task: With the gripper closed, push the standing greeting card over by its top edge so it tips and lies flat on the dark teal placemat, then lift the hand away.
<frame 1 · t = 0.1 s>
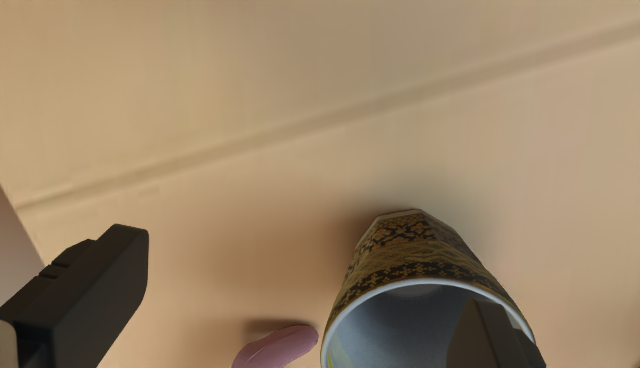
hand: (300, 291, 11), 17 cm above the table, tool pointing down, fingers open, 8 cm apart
ceramic cup: (425, 261, 31), on the table
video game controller: (283, 366, 36), on the table
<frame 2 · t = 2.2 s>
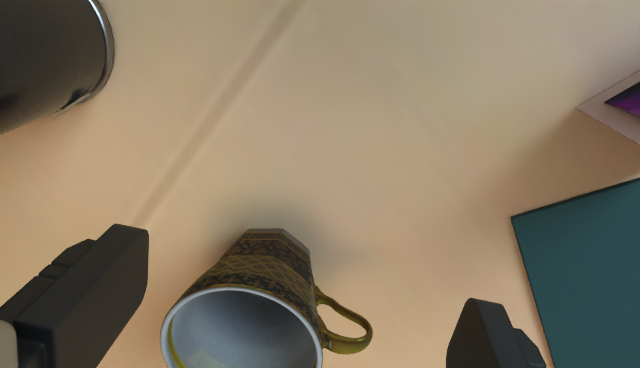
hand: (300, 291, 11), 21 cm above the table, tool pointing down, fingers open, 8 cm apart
ceramic cup: (289, 260, 37), on the table
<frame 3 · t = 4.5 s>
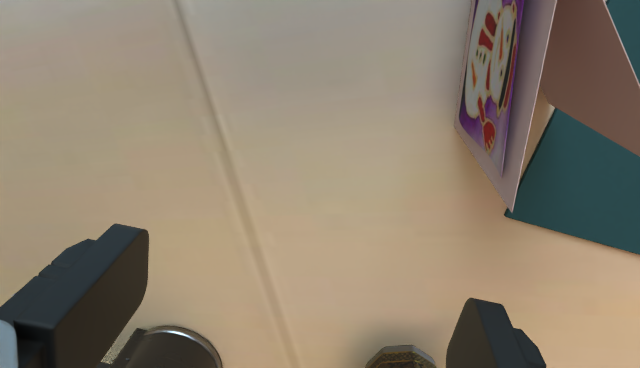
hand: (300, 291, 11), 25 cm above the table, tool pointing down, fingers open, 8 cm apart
ceramic cup: (410, 360, 44), on the table
greeting card: (505, 49, 32), on the table
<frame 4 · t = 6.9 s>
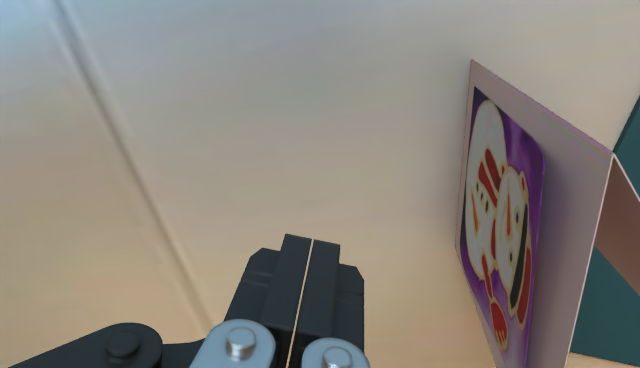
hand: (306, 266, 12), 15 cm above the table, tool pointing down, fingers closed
greeting card: (512, 159, 26), on the table
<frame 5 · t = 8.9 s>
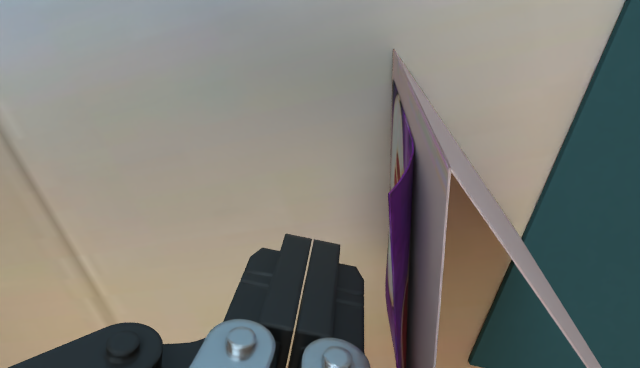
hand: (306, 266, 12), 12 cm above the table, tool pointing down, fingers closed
greeting card: (447, 162, 23), on the table, touching gripper
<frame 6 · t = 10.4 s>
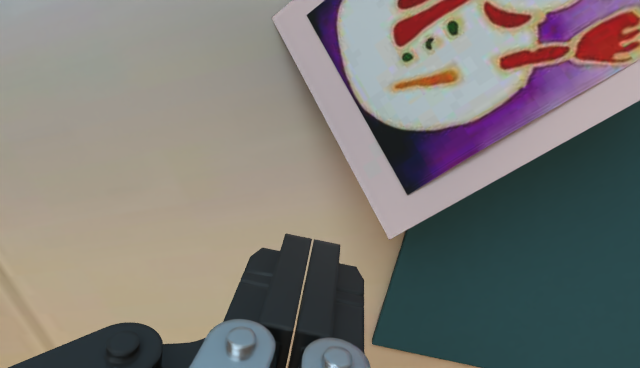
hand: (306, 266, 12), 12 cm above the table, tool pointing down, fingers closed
greeting card: (346, 134, 22), point 1 cm above the table, touching placemat
placemat: (621, 202, 23), on the table
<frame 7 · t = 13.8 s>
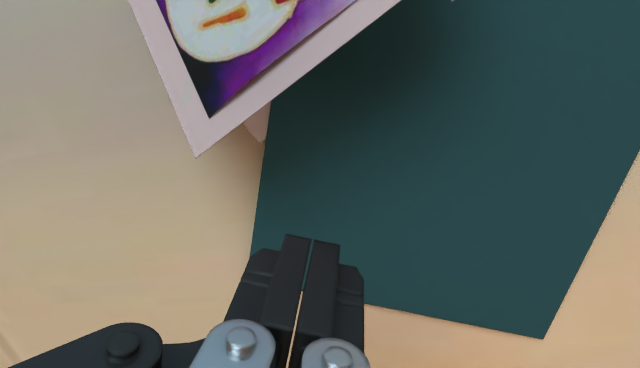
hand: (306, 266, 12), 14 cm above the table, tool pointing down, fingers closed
greeting card: (191, 78, 24), point 1 cm above the table, touching placemat
placemat: (446, 138, 25), on the table
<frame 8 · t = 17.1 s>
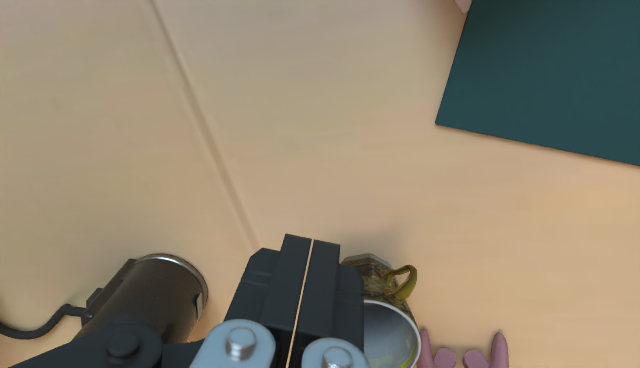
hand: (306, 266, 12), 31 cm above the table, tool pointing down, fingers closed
ceramic cup: (371, 268, 49), on the table
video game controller: (457, 346, 52), on the table
placemat: (597, 7, 37), on the table
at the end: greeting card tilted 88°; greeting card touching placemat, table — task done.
